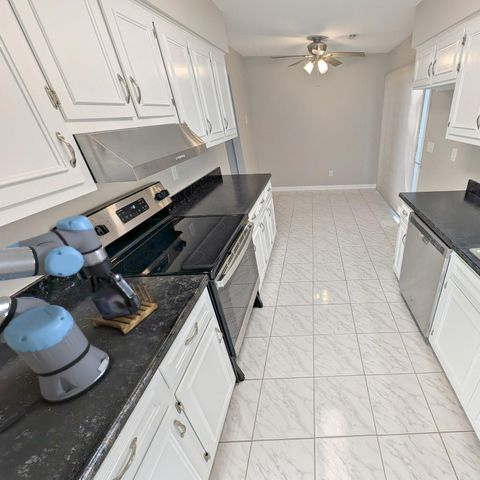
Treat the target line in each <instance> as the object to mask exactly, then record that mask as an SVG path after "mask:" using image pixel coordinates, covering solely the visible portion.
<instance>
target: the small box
mask: <svg viewBox="0 0 480 480" xmlns="http://www.w3.org/2000/svg"><path fill="white" fill-rule="evenodd" d="M126 283H127V284H128V285H129V286H130V288H131V289H132V290H133V291H134V289H133V286H132V284H133V283H132V282H126ZM134 292H135V291H134ZM133 299H134V301H135V303H136V305H137V307H138V309H139V307H140V306H142V305H141V302H140V301H141V300H139V298H138V297H137V295H136V296H135V297H134V298H133ZM91 300H92V302H93V304H94V305H95V307H96V308H97V310H98V312H99V313H100V315H102V317H103V318H104V320H111V319H114V318H119V317H122V318H125V317H124V316H129V315H131V314H130V312H129V310H128V308H127V306H126V305H125V303H124V302H123V301H124V299H123V298H122V297H121V296H120V295H119V294H118V293H117V292H116V291H114V290H113V289H112V288H109V287H108V286H105V287H104V288H101V289H100V290H98V291H97V292H96V294H95V293H94V295H93V296H92V297H91ZM136 313H137V312H136ZM136 313H134V314H133V315H137V314H136Z"/></svg>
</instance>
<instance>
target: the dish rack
mask: <svg viewBox="0 0 480 480" xmlns="http://www.w3.org/2000/svg"><path fill="white" fill-rule="evenodd" d="M131 284H132V286H133V289H134V291H135V293H136V295H137V297H138V298H139V300H140V302H141V306H140V307H139V310H138V311H137V313H136V314H134V315H129V316H124V317H119V318H114V319H109V320H104V318H103V317H102V315H101V314H100V315H99V317H96V318H95V317H90V318H89V320H90V321H91V322H92V325H93V326H94V327H95V328H98V327H100V326H102V325H104V326H108V327H112V328H117V329H120V331H121V333H122V335H123V334H124V335H126V334H127V333H128V332H130V331H131V330H132V329H134V327H136V326H137V325H138V324H139V323H141V322H142V321H143V320H144V319H146V317H148V316H149V315H150V314H151V313H152V312H154V311H155V310H156V309H157V308H158V305H157V303H156V302H153V300H152V298H151V296H150V294H149V291H148V290H147V287H146V286H145V285H142V289H143V291H144V293H145V295H144V293H143V291H142V289H141V286H140V285H139V284H136V287H135V285H134V284H133V283H131ZM136 288H137V290H138V291H137V290H136ZM138 292H139V294H140V295H139V294H138ZM140 296H141V297H140ZM145 296H146V297H145ZM141 298H142V300H141ZM147 299H148V301H149V302H148V301H147Z"/></svg>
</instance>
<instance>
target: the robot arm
mask: <svg viewBox="0 0 480 480" xmlns="http://www.w3.org/2000/svg"><path fill="white" fill-rule="evenodd" d="M55 226H56V229H53V230H51V231H47V232H46V233H45V232H44V233H43V234H39V235H36V236H33V237H30V238H26V239H23V240H19V241H17V242H14V243H12V244H9V245H7V246H5V247H3V248H0V282H4V281H10V280H18V279H19V280H20V279H25V278H32V277H40V276H47V275H48V276H49V275H50V276H53V277H59V278H60V277H61V278H65V277H70V276H72V275H75V274H76V273H78V272H79V271H80V270H81V269H82V270H83V272H84V275H85V277H86V279H87V282H88V287H89V291H90V293H91V294H94V295H95V294H96V292H97V291H98V290H100V289H101V288H104V287H109V288H112V289H113V290H114V291H116V292H117V293H118V294H119V295H120V296H121V297H122V298H123V299H124V301H123V302H124V303H125V305H126V306H127V308H128V310H129V312H130V314H131V315H133V314H134V313H136V312H137V311H138V310H139V309H138V307H137V305H136V303H135V301H134V299H133V298H134V297H135V296H136V293H135V292H134V291H133V290H132V289H131V288H130V286H129V285H128V284H127V283H128V282H127V281H125V279H124V277H123V276H122V274H121V273H119V272H118V273H116V274H115V273H114V272H113V271H112V269H113V267H114V264H113V262H112V260H111V258H110V257H109V256H108V253H107V251H106V249H105V246H104V245H103V244H102V242H101V240H100V238H99V236H98V233H97V231H96V230H95V227H94V226H93V224H92V223H91V221H90V220H89V218H88V217H87V216H85V215H82V214H81V215H72V216H67V217H64V218H62V219H59V220H57V221H56V223H55ZM139 311H140V310H139ZM134 315H135V314H134ZM0 343H3V344H7V346H8V347H9V348H11V349H12V350H13V351H14V352H15V354H17V355H18V356H19V357H20V359H22V360H23V362H24V363H26V365H27V366H28V367H29V368H30V369H31V370H32V371H33V372H34V373H35V375H36V376H37V377H38V384H39V389H40V390H39V391H40V394H41V396H40V397H39V398H37V399H36V400H35V401H33V402H32V403H30V404H29V405H28V406H26V408H24V409H23V410H22V411H20V412H19V413H18V414H17V415H16V416H14V417H12V419H11V420H10V421H8V422H7V423H5V424H4V425H3V426H1V427H0V433H2V432H3V431H4V430H6V429H7V428H9V427H10V426H11V425H12V424H14V423H15V422H16V421H17V420H18V419H20V418H21V417H22V416H23V415H24V414H26V413H27V412H28V411H29V410H30V409H32V408H33V407H35V406H36V405H37V404H39V402H41V401H42V400H43V399H44V400H45V401H46V402H48V403H51V404H60V403H64V402H67V401H70V400H73V399H75V398H77V397H80V396H81V395H82V394H84V393H86V392H88V391H89V390H90V389H92V388H93V387H94V386H96V385H97V384H98V383H99V382H100V381H101V380H102V379H103V378H104V377H105V375H106V374H107V373H108V371H109V369H110V367H111V358H110V356H109V355H108V353H107V352H105V351H104V350H102V349H100V348H98V347H96V346H94V345H93V344H91V343H90V341H89V340H88V339H87V337H86V335H85V334H84V333H83V332H82V330H81V329H80V327H79V326H78V325H77V323H76V322H75V320H74V318H73V316H72V314H71V313H70V312H69V311H68V310H67V309H65V308H64V307H63V306H60V305H55V304H51V303H49V302H48V301H46V300H44V299H41V298H37V297H30V296H22V297H16V296H15V297H13V296H10V295H3V296H0Z"/></svg>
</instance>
